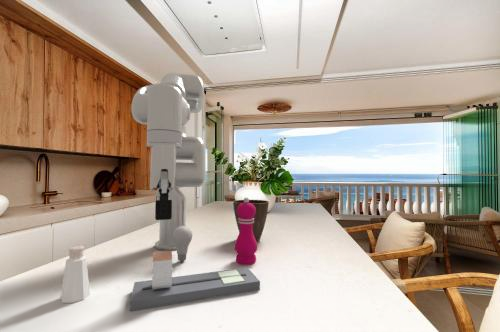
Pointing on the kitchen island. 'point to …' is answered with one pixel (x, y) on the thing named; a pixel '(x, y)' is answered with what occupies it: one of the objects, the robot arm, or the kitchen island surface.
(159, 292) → the fader panel
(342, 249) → the kitchen island surface
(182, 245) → the lightbulb
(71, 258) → the pepper shaker
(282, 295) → the kitchen island surface
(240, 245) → the pepper mill
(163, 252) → the fader knob
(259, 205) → the plant pot
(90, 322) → the kitchen island surface
